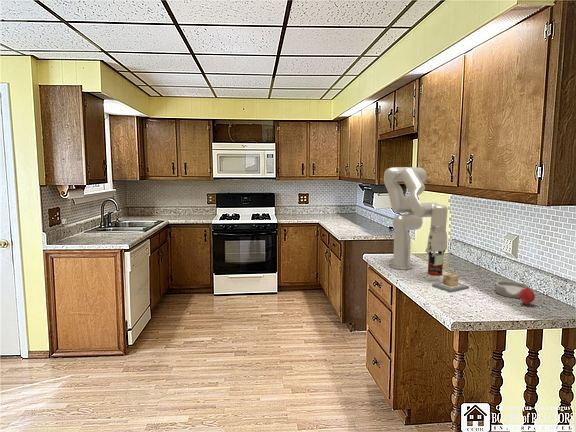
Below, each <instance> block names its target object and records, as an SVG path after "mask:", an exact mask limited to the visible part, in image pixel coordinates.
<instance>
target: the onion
mask: <svg viewBox="0 0 576 432" xmlns="http://www.w3.org/2000/svg"><path fill="white" fill-rule="evenodd" d="M529 287H530V286H529ZM529 287H526V288H525V289H523V290H521V291H520V293H519V297H520V298H519V299H520V301H521V302H522V303H524V304H525V305H529V304H531V303H533V302H534V301H535V299H536V295H535V292H534V291H533V289H531V288H530V289H529Z"/></svg>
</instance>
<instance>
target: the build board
mask: <svg viewBox="0 0 576 432" xmlns="http://www.w3.org/2000/svg"><path fill="white" fill-rule="evenodd" d="M431 286H432V287H433V288H436V289H438V290H442V291H445V292H446V293H447V292H449V293H454V292H457V291H464V290H469V289H470V286H469V285H466V284H464V283H459V282H458V285H457V286H453V287H450V286H447V285H444V284H443V281H442V282H436V283H432V285H431Z"/></svg>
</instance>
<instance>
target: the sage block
mask: <svg viewBox="0 0 576 432" xmlns="http://www.w3.org/2000/svg"><path fill="white" fill-rule="evenodd" d="M434 257H435V260H434V264H433V265H441V264H443V265H444V255H442V254H438V252H435V254H434ZM427 261H428V262H427V264H428V263H429V260H428V259H427ZM430 264H431V263H430Z"/></svg>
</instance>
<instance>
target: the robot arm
mask: <svg viewBox="0 0 576 432" xmlns="http://www.w3.org/2000/svg"><path fill="white" fill-rule="evenodd" d="M427 175H428V174H427V172H426V170H425V168H423V167H419V166H418V167H413V166H412V167H411V166H403V167H402V166H396V167H395V166H394V167H389V168H386V169H385V171H384V172H383V182H384V186H385V188H386V190H387V194H388V198H389V203H390V206H391V209H392V211H393V213H395V214H398V215H395V216H394V217H393V219H392V226H393V227H392V228H393V257H391V258H390V259H389V261H390V262H391V264H390V267H391V268H392V269H394V270H395V269H396V270H402V271H405V270H412V269H413V264H411V244H412V243H411V235H410V233H409V231H415V230H419V229H421V228H422V227H423V218H430V227H429V229H430V230H429V233H428V238H427V244H426V245H427V247H426V249H425V251H424V252H426V253H427V255H428V256H429V263H431V264H434V260H435V257H434V254H435V253H438V254H442V255H443V256H444V255H445V254H444V253H446V251H447V249H448V233H447V222H448V220H447V218H448V209H449V208H448V207H447V206H446V205H443V204H439V203H437V202H421V201H420V200H419V199H418V196H420V195H421V194H423V193H424V192H425V189H426V186H425V184H424V182H425V181H426V179H427ZM398 182H403V183H404V185H405V186H406V189H407V190H408V191H409V193H410V194H409V195H408V196H406V195H405V193H404V190H403V188H402V186H401V185H400V184H399V183H398Z"/></svg>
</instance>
